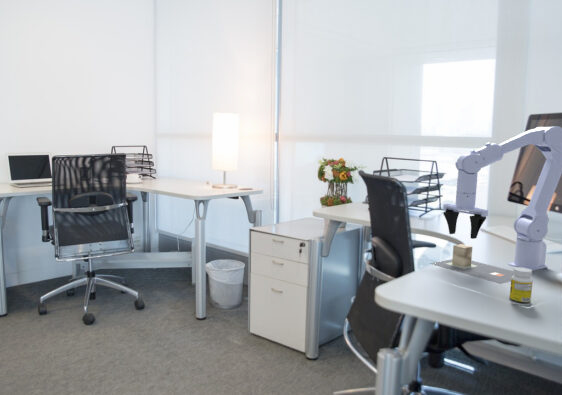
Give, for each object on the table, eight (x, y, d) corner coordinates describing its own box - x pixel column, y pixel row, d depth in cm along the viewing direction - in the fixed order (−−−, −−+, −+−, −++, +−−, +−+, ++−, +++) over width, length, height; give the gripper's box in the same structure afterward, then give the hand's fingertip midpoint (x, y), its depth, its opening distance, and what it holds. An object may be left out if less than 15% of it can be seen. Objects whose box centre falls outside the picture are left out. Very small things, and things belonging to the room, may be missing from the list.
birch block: (459, 262, 156) (461, 244, 155) (470, 265, 153) (472, 246, 152) (452, 264, 154) (453, 245, 153) (463, 267, 151) (464, 248, 150)
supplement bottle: (512, 298, 123) (515, 265, 122) (532, 302, 120) (536, 269, 119) (506, 302, 119) (509, 269, 118) (527, 307, 116) (531, 273, 115)
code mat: (460, 258, 163) (460, 257, 163) (531, 276, 143) (531, 275, 143) (429, 264, 154) (429, 263, 154) (500, 284, 134) (500, 283, 134)
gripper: (438, 190, 155) (435, 232, 157) (479, 196, 144) (476, 241, 145) (452, 190, 159) (448, 231, 161) (493, 195, 148) (489, 239, 149)
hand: (462, 236), depth 154 cm, fingers open, 7 cm apart
